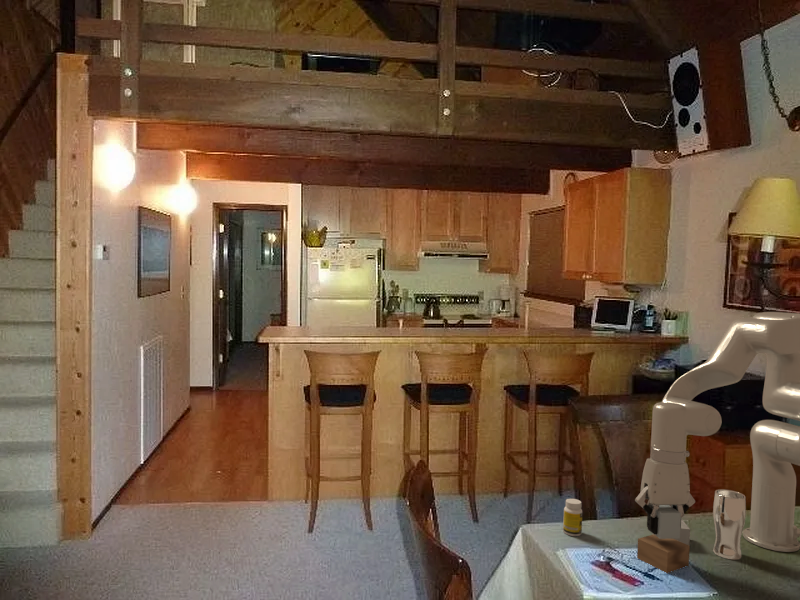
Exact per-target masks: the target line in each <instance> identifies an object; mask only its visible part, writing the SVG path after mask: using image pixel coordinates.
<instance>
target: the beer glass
mask: <svg viewBox="0 0 800 600" xmlns="http://www.w3.org/2000/svg"><path fill="white" fill-rule="evenodd" d="M746 503H747V502H746V496H745V494H743V493H741V492H739V491H735V490H731V489H716V490H715V491H714V500H713V506H712V508H713V510H712V511H713V512H712V515H713V523H714V529H715V530H714V531H715V541H714V545H713V549H712V550H713V553H714V554H715V555H717V556H718V557H720V558H722V559H727V560H733V561H735V560H736V561H737V560H741V559H742V551H741V539H742V536H743V530H744V529H745V528H744V527H745V522H746V515H747V513H746V512H747V504H746Z"/></svg>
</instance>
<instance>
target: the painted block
mask: <svg viewBox="0 0 800 600" xmlns="http://www.w3.org/2000/svg"><path fill="white" fill-rule="evenodd" d="M656 517H657V518H658V530H657V534H654V535H655V536H657V537H658V538H659V539H676V538H680V523H681V519H682V517H681V513H680V512H679V511H677V510H676V509H674V508H672V506H671V505H659V508H658V512H657V515H656ZM649 532H650V533H651V534H652V532H651V531H649Z"/></svg>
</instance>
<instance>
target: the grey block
mask: <svg viewBox="0 0 800 600" xmlns="http://www.w3.org/2000/svg"><path fill="white" fill-rule="evenodd" d="M651 535H653V533H651ZM690 536H691V529H690V527H689V526H688V524H686V522H685V521H684V519H683V518H681V528H680V538H676V539H675V540H677V541H680V542H682V543H684V544H687V545H689V546H690V542H691V541H690V539H691V537H690Z"/></svg>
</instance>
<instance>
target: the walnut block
mask: <svg viewBox="0 0 800 600" xmlns="http://www.w3.org/2000/svg"><path fill="white" fill-rule="evenodd" d="M636 553H637V555H636V558H638V559H637V560H639V559H640V560H639V561H642V562H644V563H646V564H647V563H648V564H647V565H649V564H650V566H651V565H652V566H651V567H653V568H655V569H657V568H658V569H657V570H659V569H660V570H659V571H661V572H663V571H664V572H663V573H665V572H666V574H669V573H672V572H675V571H677V569H678V570H680V568H681V569H684V568H683V567H685V566H688V567H689V565H690V563H689V562H690V544H689V545H687V544H684V543H682V542H680V541H677V540H675V539H659V538H658V537H657V536H655V535H654V534H650V535H646V536H642V537H639V538H637V552H636ZM685 568H686V567H685ZM674 570H675V571H674ZM671 571H672V572H671ZM668 572H669V573H668Z"/></svg>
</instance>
